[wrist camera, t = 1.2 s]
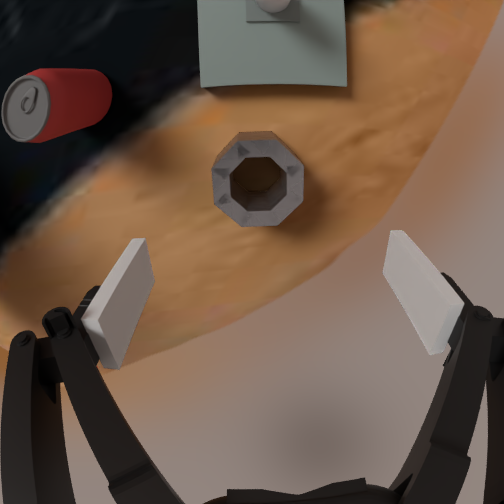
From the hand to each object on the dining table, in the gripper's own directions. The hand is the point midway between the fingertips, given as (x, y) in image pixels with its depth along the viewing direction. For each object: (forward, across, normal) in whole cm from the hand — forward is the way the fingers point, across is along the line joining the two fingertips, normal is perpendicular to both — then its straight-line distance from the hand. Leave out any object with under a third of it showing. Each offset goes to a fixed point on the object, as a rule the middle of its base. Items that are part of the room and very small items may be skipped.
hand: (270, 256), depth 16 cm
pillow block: (+18, +2, +18) cm, 26 cm away
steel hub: (+19, 0, 0) cm, 19 cm away
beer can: (+19, -18, +10) cm, 28 cm away
